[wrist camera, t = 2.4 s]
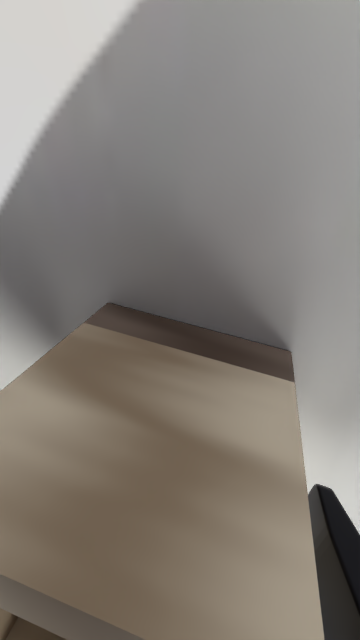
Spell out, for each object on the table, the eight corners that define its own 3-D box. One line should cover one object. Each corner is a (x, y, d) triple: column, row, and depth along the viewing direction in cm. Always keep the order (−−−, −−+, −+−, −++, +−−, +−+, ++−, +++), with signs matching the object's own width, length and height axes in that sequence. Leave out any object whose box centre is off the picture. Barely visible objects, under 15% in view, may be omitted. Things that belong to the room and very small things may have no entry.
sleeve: (102, 427, 13) (-46, 657, 7) (108, 302, 10) (-143, 508, 4) (241, 474, 12) (211, 791, 6) (290, 351, 9) (334, 724, 3)
